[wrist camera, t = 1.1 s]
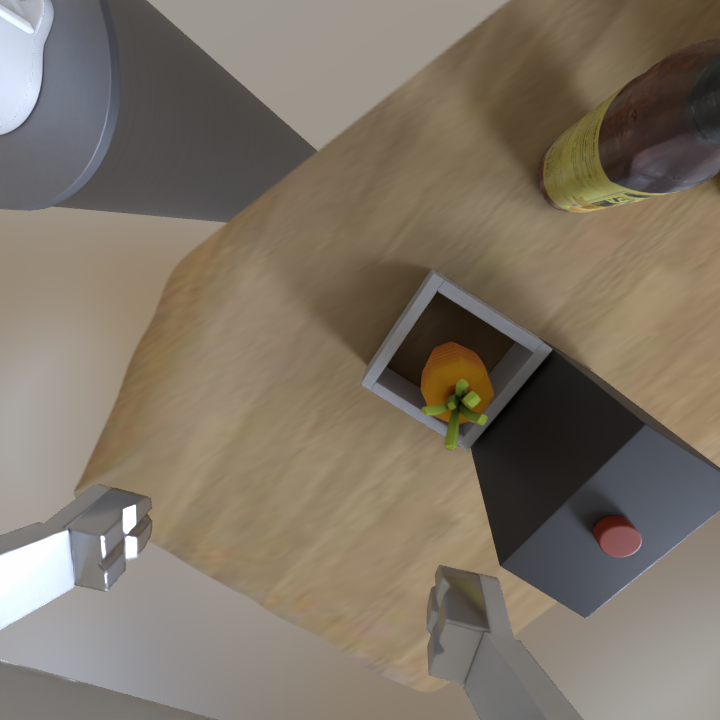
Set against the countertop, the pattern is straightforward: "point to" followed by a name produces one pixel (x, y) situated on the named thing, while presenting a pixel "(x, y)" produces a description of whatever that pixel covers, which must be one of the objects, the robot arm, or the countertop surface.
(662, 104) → the sauce bottle
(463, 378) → the carrot
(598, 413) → the box with red knob
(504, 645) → the robot arm
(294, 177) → the countertop surface
